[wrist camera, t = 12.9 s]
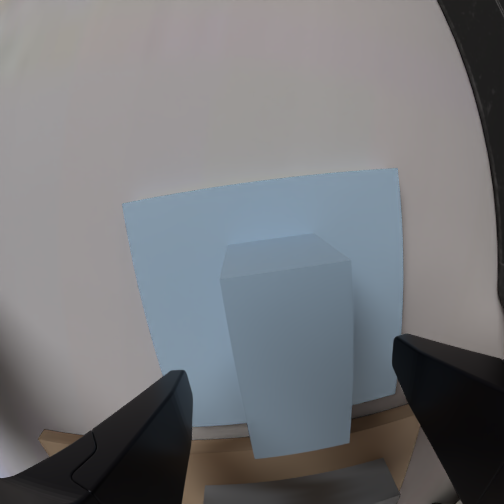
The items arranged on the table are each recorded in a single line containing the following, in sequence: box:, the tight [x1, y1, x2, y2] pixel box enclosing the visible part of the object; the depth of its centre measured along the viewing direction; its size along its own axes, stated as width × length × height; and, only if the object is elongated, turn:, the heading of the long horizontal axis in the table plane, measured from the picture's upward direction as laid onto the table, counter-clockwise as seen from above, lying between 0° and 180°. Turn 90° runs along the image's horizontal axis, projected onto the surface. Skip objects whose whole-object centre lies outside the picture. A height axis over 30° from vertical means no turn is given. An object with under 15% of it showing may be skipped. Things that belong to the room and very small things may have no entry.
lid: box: [122, 168, 403, 459], centre depth 10 cm, size 10×10×6 cm
